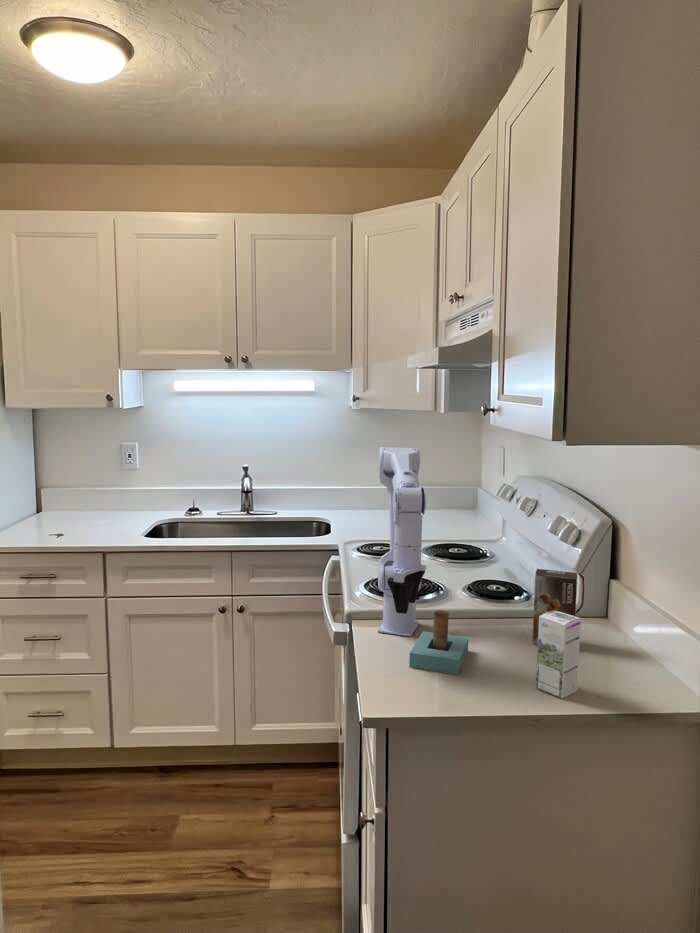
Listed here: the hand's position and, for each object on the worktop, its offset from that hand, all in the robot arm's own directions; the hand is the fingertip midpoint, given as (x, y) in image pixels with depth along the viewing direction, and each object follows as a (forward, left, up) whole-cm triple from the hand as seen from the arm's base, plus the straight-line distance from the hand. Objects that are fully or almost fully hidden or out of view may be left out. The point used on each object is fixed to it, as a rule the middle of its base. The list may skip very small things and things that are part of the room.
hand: (405, 607), depth 135 cm
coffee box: (-19, +30, -11) cm, 37 cm away
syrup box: (+6, +31, -11) cm, 33 cm away
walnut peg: (-1, +7, -10) cm, 13 cm away
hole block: (-1, +7, -10) cm, 13 cm away
